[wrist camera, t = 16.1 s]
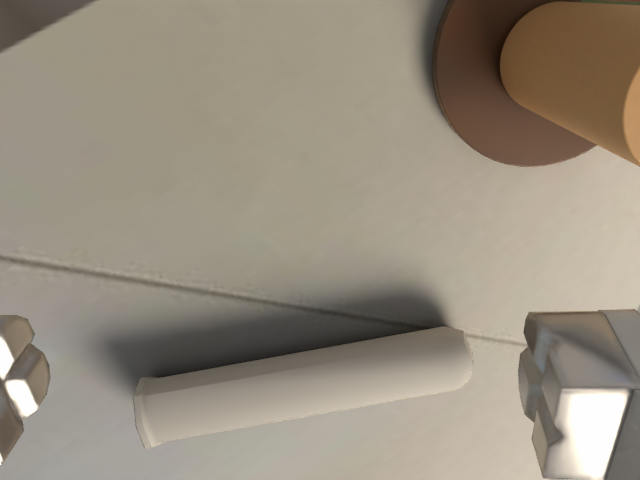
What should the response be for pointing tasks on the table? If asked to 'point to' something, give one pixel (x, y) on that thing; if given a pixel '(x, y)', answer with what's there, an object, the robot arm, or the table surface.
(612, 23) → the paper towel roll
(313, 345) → the table surface
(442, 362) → the tube
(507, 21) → the disc
